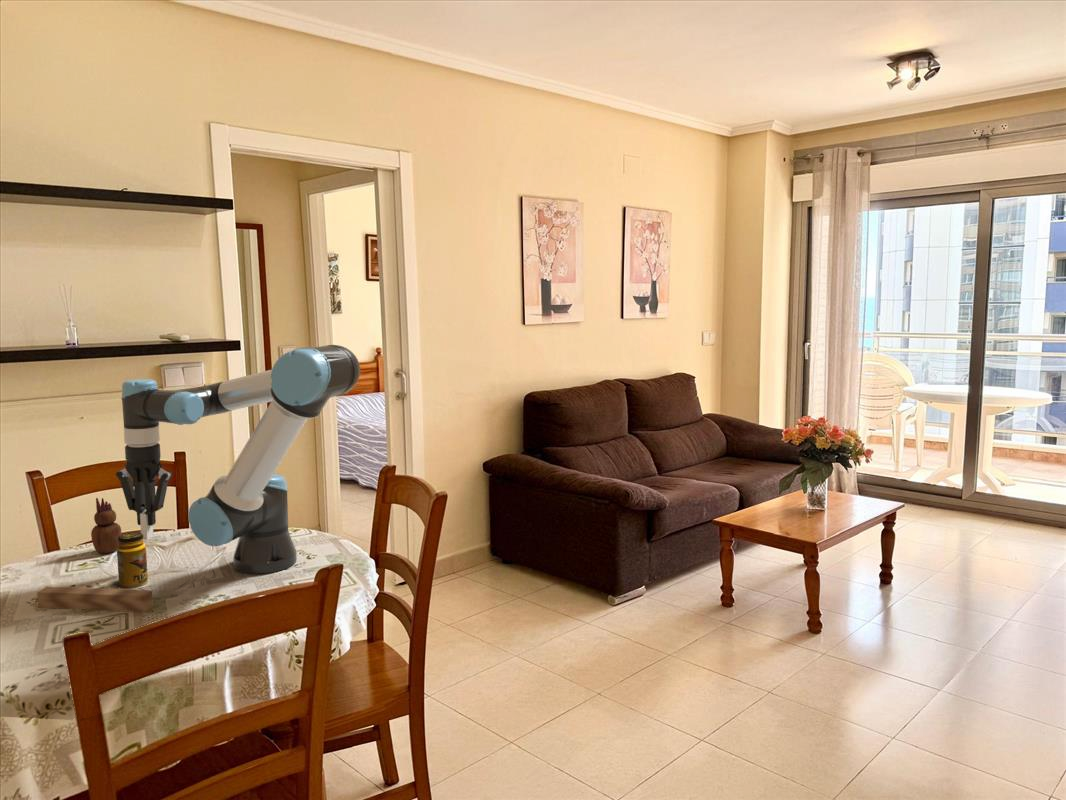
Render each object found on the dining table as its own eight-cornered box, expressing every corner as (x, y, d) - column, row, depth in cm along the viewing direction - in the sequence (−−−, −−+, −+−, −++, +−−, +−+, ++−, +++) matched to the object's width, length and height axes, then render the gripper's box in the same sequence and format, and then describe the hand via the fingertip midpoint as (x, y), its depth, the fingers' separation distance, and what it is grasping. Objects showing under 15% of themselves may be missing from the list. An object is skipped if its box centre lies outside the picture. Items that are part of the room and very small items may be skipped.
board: (153, 605, 165) (152, 590, 164) (145, 611, 162) (144, 596, 161) (47, 601, 166) (46, 586, 165) (38, 607, 163) (36, 592, 162)
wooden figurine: (95, 557, 192) (91, 501, 190) (90, 551, 197) (86, 496, 194) (124, 551, 197) (120, 496, 195) (119, 545, 201) (115, 491, 199)
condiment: (151, 585, 175) (148, 536, 174) (110, 593, 171) (106, 543, 169) (147, 575, 181) (144, 528, 180) (107, 582, 177) (103, 534, 175)
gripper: (177, 441, 184) (181, 533, 187) (125, 439, 184) (130, 531, 188) (160, 448, 176) (165, 544, 180) (106, 445, 177) (112, 541, 180)
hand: (147, 537), depth 184 cm, fingers closed
